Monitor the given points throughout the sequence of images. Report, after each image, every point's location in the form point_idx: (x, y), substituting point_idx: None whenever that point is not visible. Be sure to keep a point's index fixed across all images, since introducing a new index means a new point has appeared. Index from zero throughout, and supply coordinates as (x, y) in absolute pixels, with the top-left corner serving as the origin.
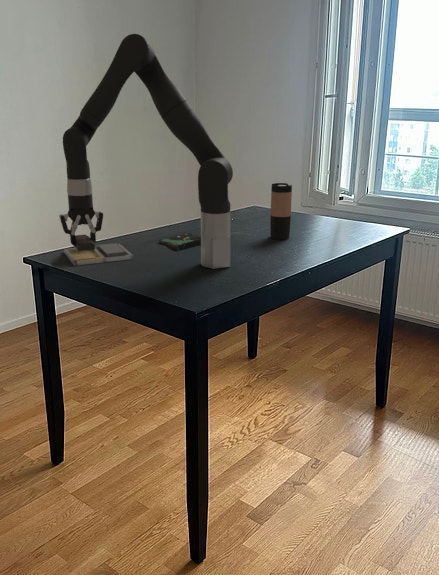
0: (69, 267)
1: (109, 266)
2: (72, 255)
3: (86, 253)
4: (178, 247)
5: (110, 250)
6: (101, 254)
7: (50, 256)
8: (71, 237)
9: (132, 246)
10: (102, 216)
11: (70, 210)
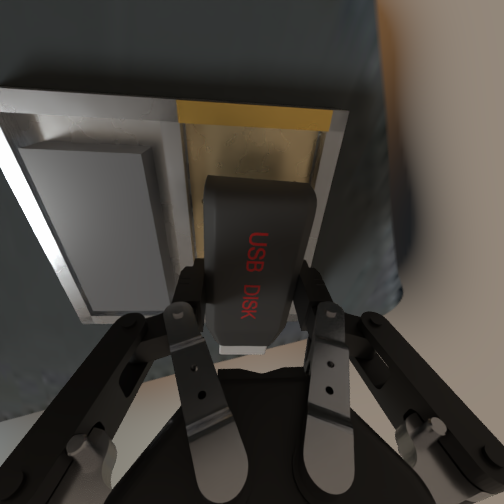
0: (342, 147)
1: (150, 56)
2: None
3: None
4: None
5: (116, 212)
6: (172, 196)
7: None
8: (327, 296)
9: (45, 321)
10: (19, 454)
11: None
